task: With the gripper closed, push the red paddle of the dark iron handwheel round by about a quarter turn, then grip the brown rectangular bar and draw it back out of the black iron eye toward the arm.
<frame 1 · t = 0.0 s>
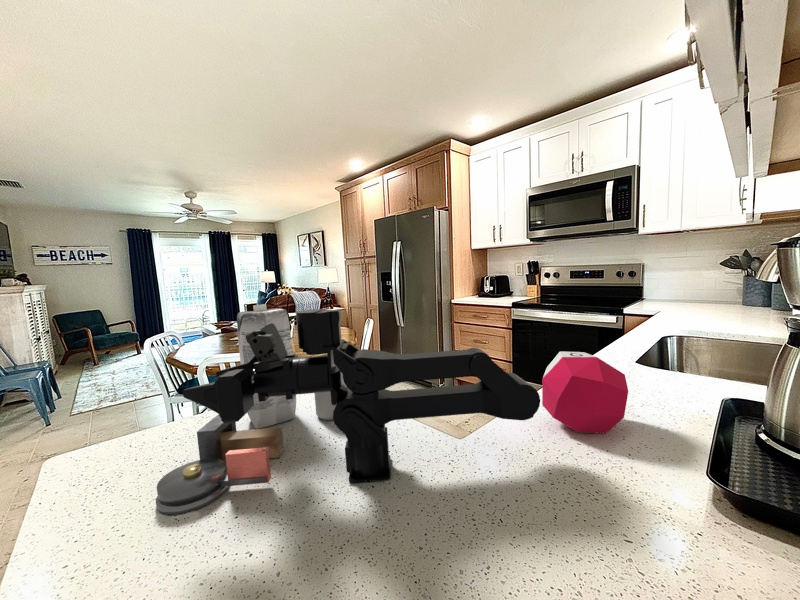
hand: (201, 383, 52), 17 cm above the worktop, tool horizontal, fingers open, 9 cm apart
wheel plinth: (195, 493, 51), on the worktop
brown rectangular bar: (243, 444, 61), point 2 cm above the worktop, slide at 0.0 cm
can: (332, 415, 77), on the worktop
juice carton: (272, 420, 77), on the worktop
decorative object: (582, 425, 64), on the worktop
handwheel: (215, 469, 51), point 3 cm above the worktop, hinge at 0.0°
iron eye: (220, 458, 61), on the worktop
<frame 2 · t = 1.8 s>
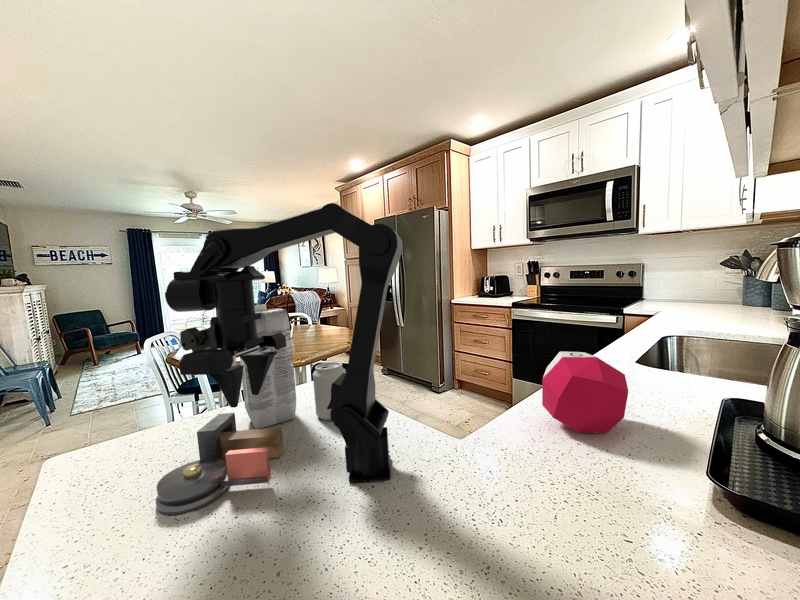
hand: (245, 400, 56), 12 cm above the worktop, tool pointing down, fingers open, 5 cm apart
nothing on the worktop moved.
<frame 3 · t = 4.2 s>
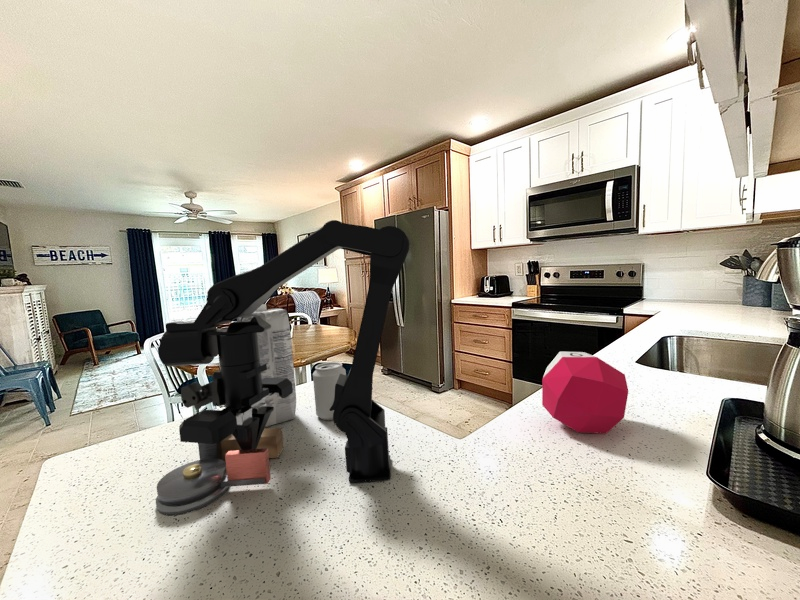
hand: (249, 457, 53), 4 cm above the worktop, tool pointing down, fingers closed
handwheel: (215, 469, 51), point 3 cm above the worktop, hinge at -1.3°, touching gripper
everything else where it was.
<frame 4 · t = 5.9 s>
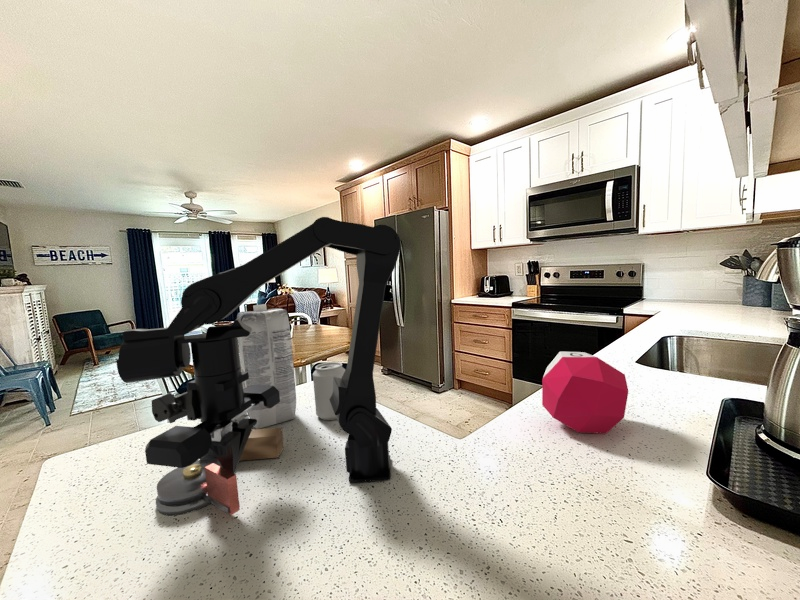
hand: (230, 474, 48), 4 cm above the worktop, tool pointing down, fingers closed
handwheel: (203, 477, 49), point 3 cm above the worktop, hinge at -36.2°, touching gripper
everything else where it was.
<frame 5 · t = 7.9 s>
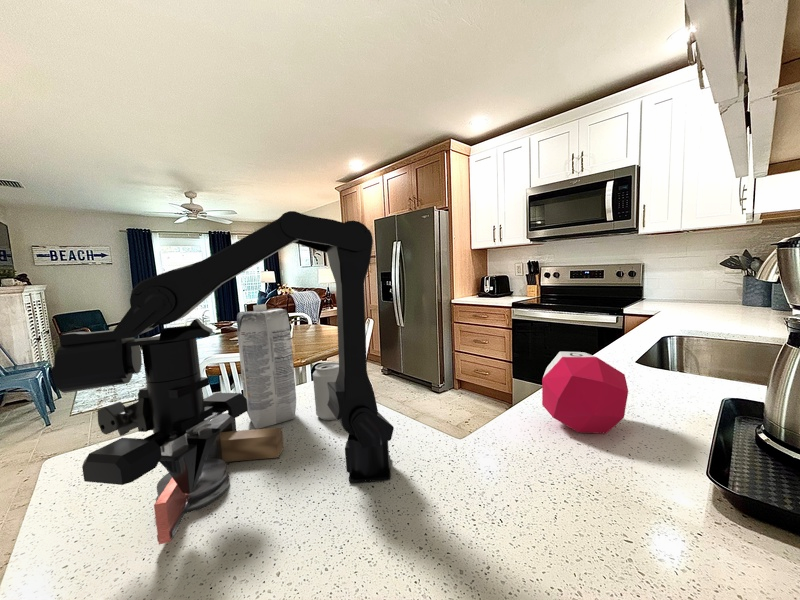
hand: (188, 491, 43), 5 cm above the worktop, tool pointing down, fingers closed
handwheel: (184, 484, 47), point 3 cm above the worktop, hinge at -75.8°
everything else where it was.
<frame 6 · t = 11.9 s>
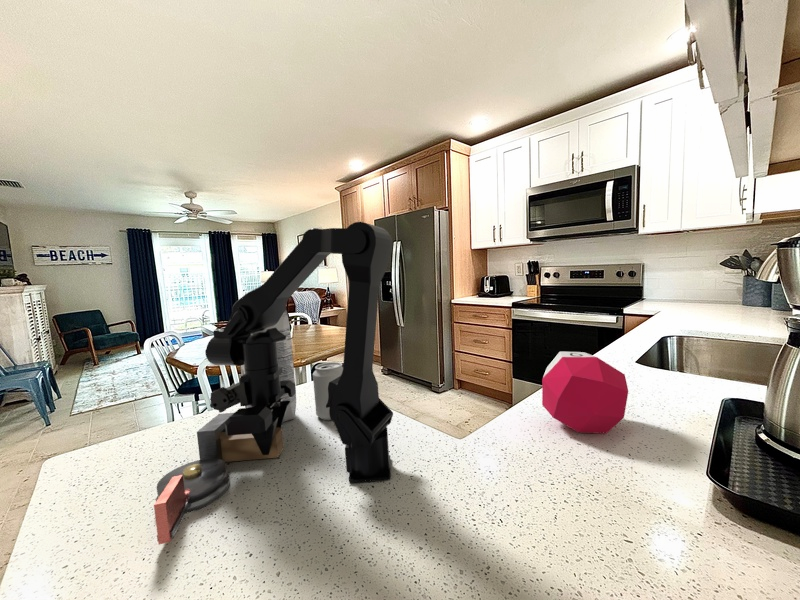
hand: (269, 448, 61), 1 cm above the worktop, tool pointing down, fingers closed on brown rectangular bar, 3 cm apart
brown rectangular bar: (243, 444, 61), point 2 cm above the worktop, slide at 0.0 cm, touching gripper
everything else where it was.
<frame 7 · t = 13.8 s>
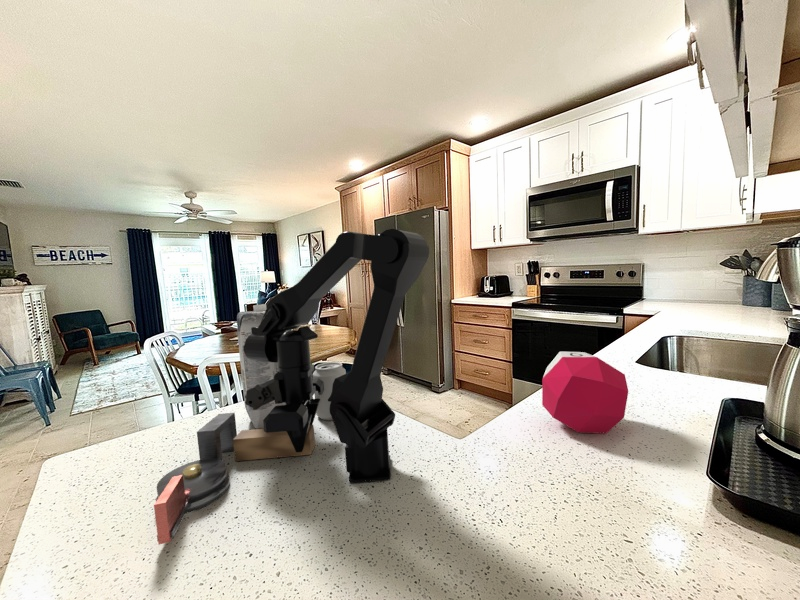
hand: (302, 446, 61), 1 cm above the worktop, tool pointing down, fingers closed on brown rectangular bar, 3 cm apart
brown rectangular bar: (275, 442, 61), point 2 cm above the worktop, slide at 5.9 cm, touching gripper
everything else where it was.
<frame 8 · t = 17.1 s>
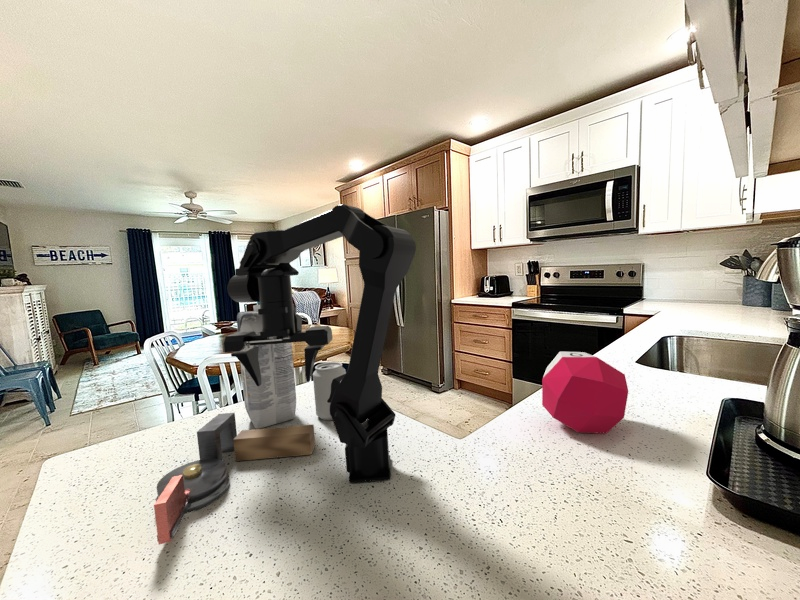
hand: (283, 383, 62), 12 cm above the worktop, tool pointing down, fingers open, 9 cm apart
brown rectangular bar: (275, 442, 61), point 2 cm above the worktop, slide at 6.0 cm
everything else where it was.
at the end: handwheel at -76° (first picture: +0°); brown rectangular bar slide at 6.0 cm; the gripper is holding nothing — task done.
